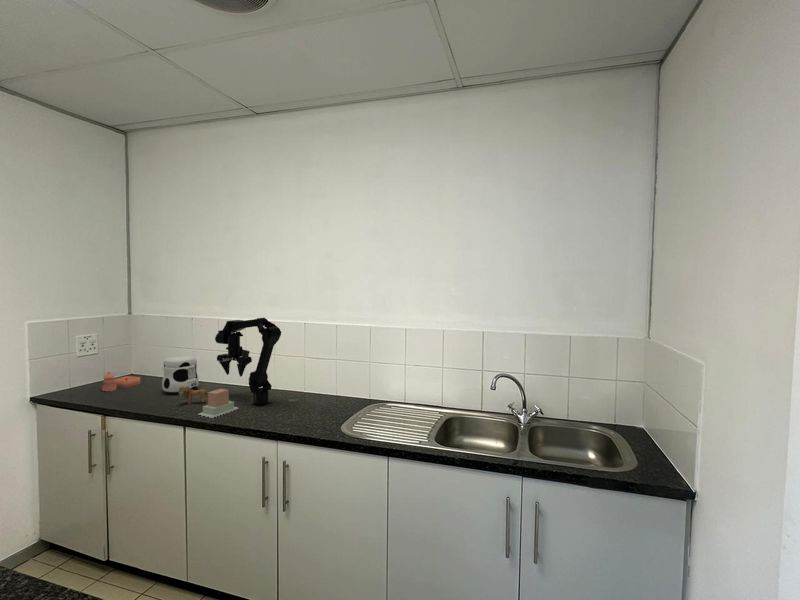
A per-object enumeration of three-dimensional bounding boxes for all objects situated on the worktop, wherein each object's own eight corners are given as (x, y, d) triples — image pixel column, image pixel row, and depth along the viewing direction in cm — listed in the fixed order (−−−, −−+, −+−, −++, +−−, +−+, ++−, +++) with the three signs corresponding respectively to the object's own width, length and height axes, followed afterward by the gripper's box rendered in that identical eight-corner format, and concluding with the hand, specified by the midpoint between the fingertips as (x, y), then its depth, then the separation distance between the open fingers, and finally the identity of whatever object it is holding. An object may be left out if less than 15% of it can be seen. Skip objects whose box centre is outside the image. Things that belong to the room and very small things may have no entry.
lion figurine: (178, 406, 187) (177, 388, 186) (179, 403, 191) (179, 385, 191) (212, 403, 192) (212, 385, 192) (212, 400, 197) (212, 382, 197)
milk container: (164, 388, 217) (163, 356, 216) (199, 385, 224) (198, 354, 223) (160, 397, 201) (159, 362, 200) (198, 393, 208) (197, 359, 207)
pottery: (127, 383, 228) (127, 366, 228) (140, 384, 226) (140, 367, 225) (96, 391, 211) (96, 373, 210) (110, 392, 208) (109, 374, 208)
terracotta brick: (228, 402, 181) (228, 389, 181) (215, 407, 175) (215, 393, 174) (221, 401, 183) (220, 388, 183) (208, 405, 177) (207, 392, 176)
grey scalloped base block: (238, 409, 183) (238, 401, 183) (212, 418, 171) (212, 410, 171) (224, 406, 187) (224, 398, 187) (198, 415, 175) (198, 407, 174)
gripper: (259, 344, 201) (260, 374, 202) (233, 341, 209) (233, 370, 210) (242, 347, 191) (243, 378, 192) (215, 344, 199) (216, 374, 200)
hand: (234, 375), depth 199 cm, fingers open, 9 cm apart
